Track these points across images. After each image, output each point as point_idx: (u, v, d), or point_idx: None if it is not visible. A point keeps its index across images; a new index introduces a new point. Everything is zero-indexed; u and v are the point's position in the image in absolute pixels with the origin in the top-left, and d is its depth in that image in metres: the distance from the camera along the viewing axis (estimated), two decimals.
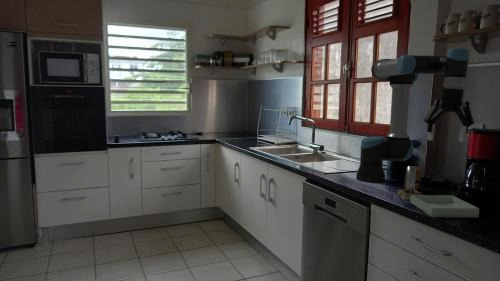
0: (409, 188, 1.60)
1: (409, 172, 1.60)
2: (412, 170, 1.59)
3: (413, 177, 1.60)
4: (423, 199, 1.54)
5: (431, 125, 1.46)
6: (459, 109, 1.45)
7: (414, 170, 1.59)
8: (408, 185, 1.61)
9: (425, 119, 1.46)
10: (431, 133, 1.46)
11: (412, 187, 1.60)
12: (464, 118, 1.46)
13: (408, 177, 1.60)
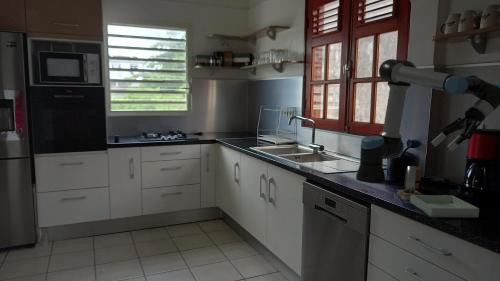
0: (409, 188, 1.60)
1: (409, 172, 1.60)
2: (412, 170, 1.59)
3: (413, 177, 1.60)
4: (423, 199, 1.54)
5: None
6: None
7: (414, 170, 1.59)
8: (408, 185, 1.61)
9: (468, 135, 1.49)
10: (456, 145, 1.52)
11: (412, 187, 1.60)
12: None
13: (408, 177, 1.60)
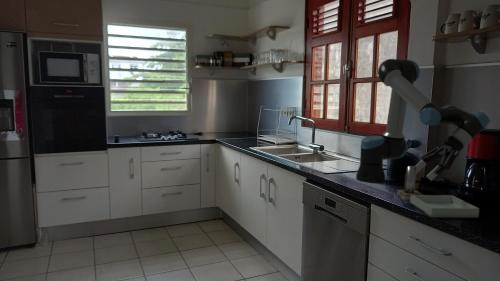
0: (409, 188, 1.60)
1: (409, 172, 1.60)
2: (413, 170, 1.59)
3: (413, 177, 1.60)
4: (423, 199, 1.54)
5: None
6: None
7: (414, 170, 1.59)
8: (408, 185, 1.61)
9: None
10: (435, 175, 1.53)
11: (412, 187, 1.60)
12: None
13: (408, 177, 1.60)
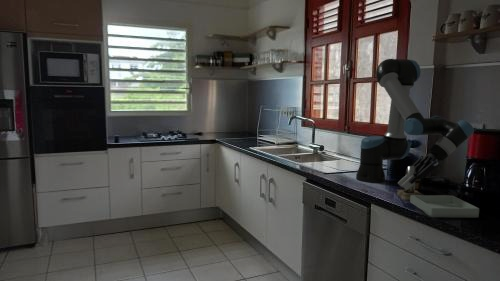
0: (409, 188, 1.60)
1: (409, 172, 1.60)
2: (413, 170, 1.59)
3: None
4: (423, 199, 1.54)
5: None
6: None
7: (414, 170, 1.59)
8: None
9: (420, 176, 1.56)
10: (410, 184, 1.59)
11: (412, 187, 1.60)
12: None
13: (408, 177, 1.60)
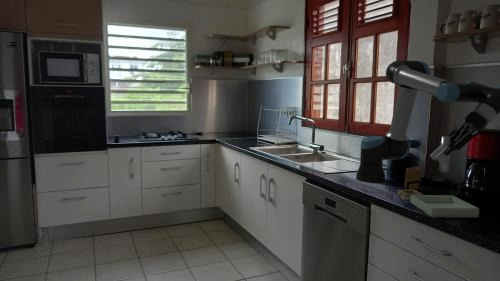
0: (443, 160, 1.43)
1: (443, 143, 1.43)
2: (448, 140, 1.42)
3: None
4: (423, 199, 1.54)
5: None
6: None
7: (449, 140, 1.42)
8: None
9: (457, 146, 1.39)
10: (445, 156, 1.42)
11: (447, 159, 1.43)
12: None
13: (442, 148, 1.43)
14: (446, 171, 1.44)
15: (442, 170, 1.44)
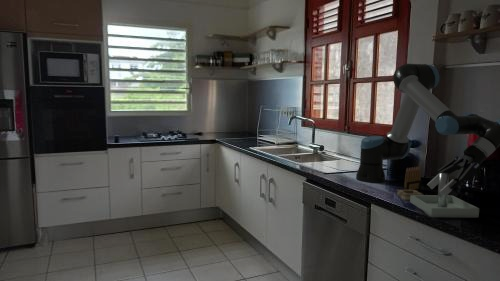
0: (441, 197, 1.45)
1: (441, 180, 1.44)
2: (445, 177, 1.44)
3: None
4: (423, 199, 1.54)
5: None
6: None
7: (447, 177, 1.44)
8: (440, 194, 1.45)
9: (463, 180, 1.37)
10: (450, 190, 1.40)
11: (445, 196, 1.44)
12: None
13: (440, 185, 1.45)
14: None
15: (441, 206, 1.45)
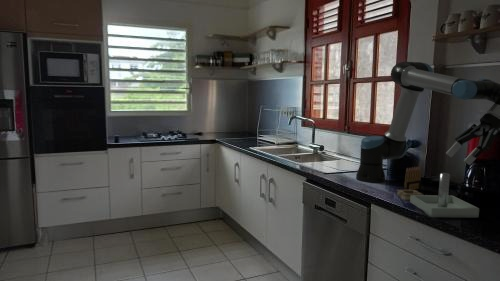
0: (442, 197, 1.45)
1: (442, 180, 1.44)
2: (446, 177, 1.43)
3: (447, 185, 1.44)
4: (423, 199, 1.54)
5: None
6: None
7: (448, 178, 1.43)
8: (441, 194, 1.45)
9: (486, 147, 1.37)
10: (474, 158, 1.40)
11: (445, 196, 1.44)
12: None
13: (441, 185, 1.45)
14: None
15: (441, 207, 1.45)
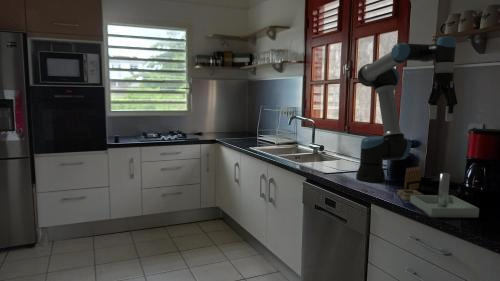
0: (442, 197, 1.45)
1: (442, 180, 1.44)
2: (446, 177, 1.43)
3: (447, 185, 1.44)
4: (423, 199, 1.54)
5: None
6: None
7: (448, 178, 1.43)
8: (441, 194, 1.45)
9: (454, 102, 1.54)
10: (451, 114, 1.58)
11: (445, 196, 1.44)
12: None
13: (441, 185, 1.45)
14: None
15: (441, 207, 1.45)
